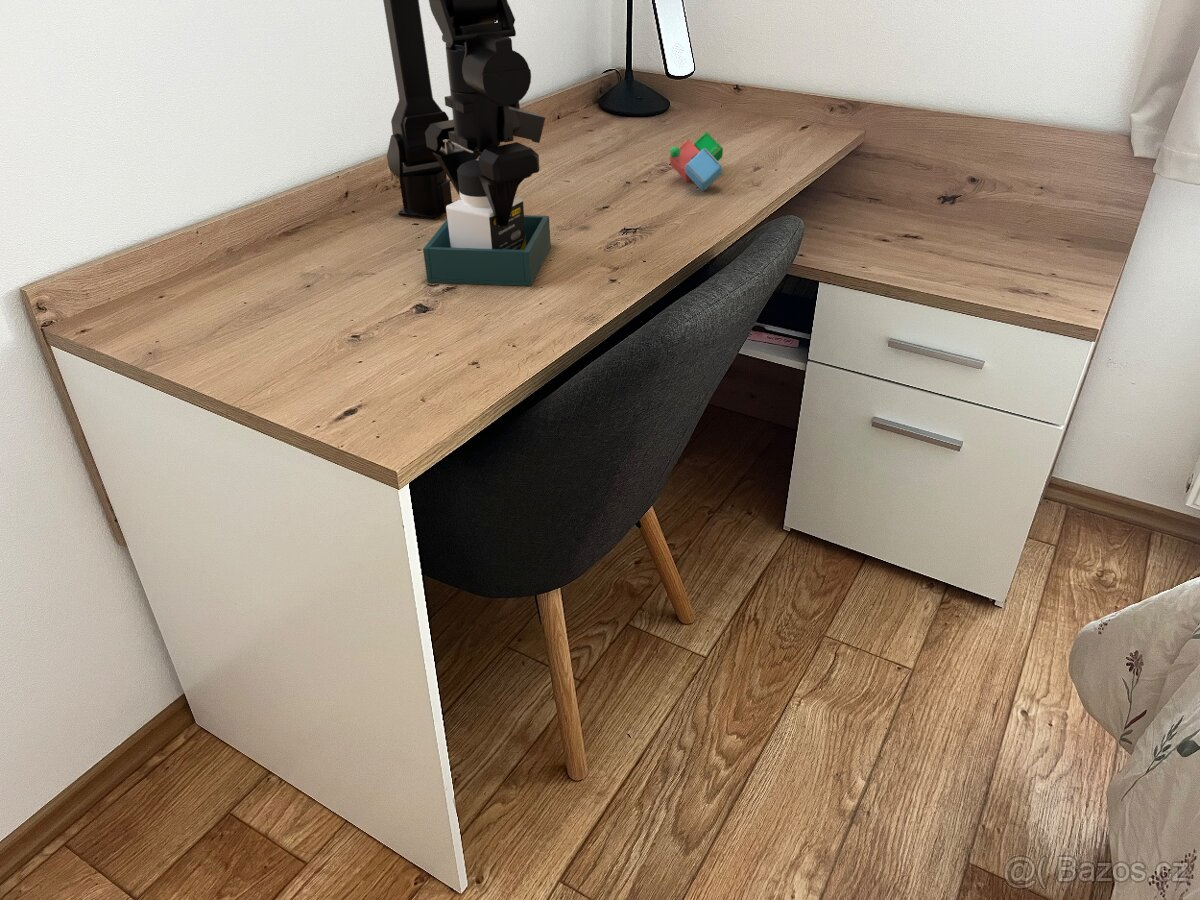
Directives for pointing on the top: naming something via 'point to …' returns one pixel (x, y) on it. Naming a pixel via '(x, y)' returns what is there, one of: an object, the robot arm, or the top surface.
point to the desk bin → (488, 258)
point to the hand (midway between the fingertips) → (486, 216)
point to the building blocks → (698, 160)
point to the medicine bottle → (482, 216)
